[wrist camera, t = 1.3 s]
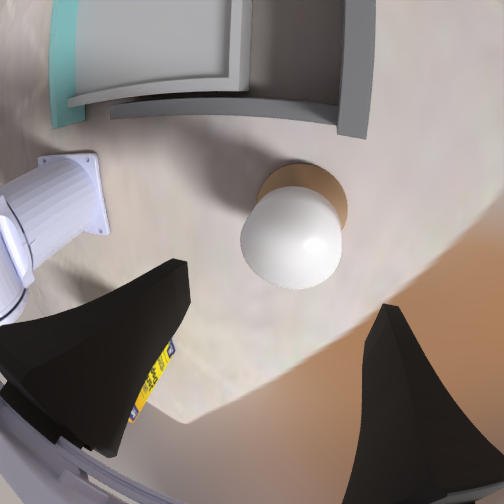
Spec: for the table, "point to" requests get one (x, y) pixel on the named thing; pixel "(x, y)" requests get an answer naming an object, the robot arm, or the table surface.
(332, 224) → the white round dome
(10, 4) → the table surface
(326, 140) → the table surface
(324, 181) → the disc stand
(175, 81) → the tray
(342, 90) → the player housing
